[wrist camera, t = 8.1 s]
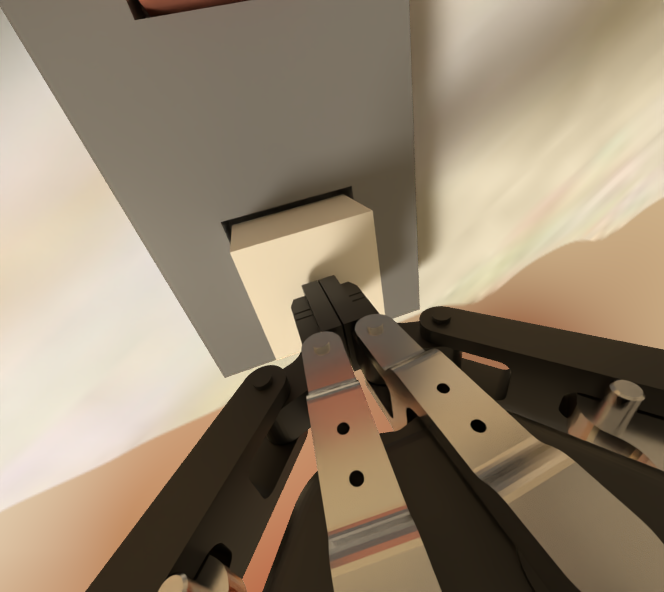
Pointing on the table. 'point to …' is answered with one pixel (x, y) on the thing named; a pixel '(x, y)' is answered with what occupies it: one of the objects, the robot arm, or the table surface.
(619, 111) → the table surface
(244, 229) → the off-white key
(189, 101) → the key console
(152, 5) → the brick-red key
